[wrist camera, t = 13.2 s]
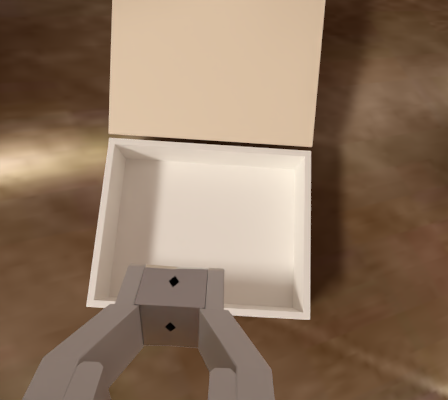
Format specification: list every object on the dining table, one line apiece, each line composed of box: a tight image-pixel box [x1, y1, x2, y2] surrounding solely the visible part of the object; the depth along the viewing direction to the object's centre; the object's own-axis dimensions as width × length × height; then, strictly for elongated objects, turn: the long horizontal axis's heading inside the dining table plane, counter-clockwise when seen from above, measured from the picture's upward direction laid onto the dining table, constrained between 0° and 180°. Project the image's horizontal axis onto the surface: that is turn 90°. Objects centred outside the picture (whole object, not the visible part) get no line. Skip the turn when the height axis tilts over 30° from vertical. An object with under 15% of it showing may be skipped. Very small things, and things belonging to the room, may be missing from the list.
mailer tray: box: [86, 138, 311, 320], centre depth 35 cm, size 16×20×5 cm
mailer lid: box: [109, 0, 325, 147], centre depth 33 cm, size 16×20×1 cm
